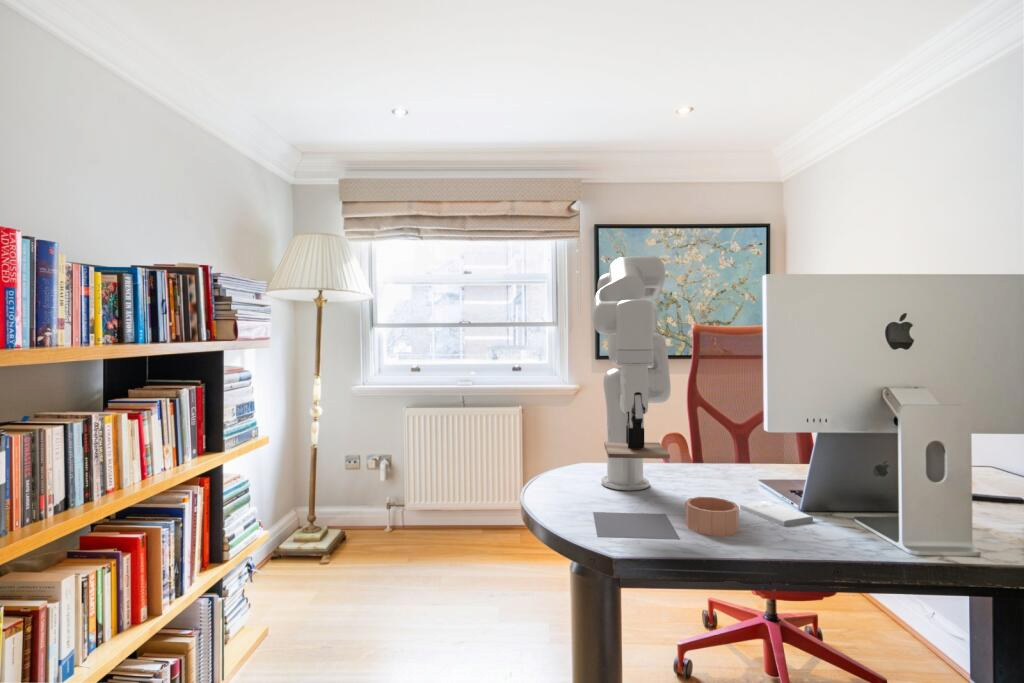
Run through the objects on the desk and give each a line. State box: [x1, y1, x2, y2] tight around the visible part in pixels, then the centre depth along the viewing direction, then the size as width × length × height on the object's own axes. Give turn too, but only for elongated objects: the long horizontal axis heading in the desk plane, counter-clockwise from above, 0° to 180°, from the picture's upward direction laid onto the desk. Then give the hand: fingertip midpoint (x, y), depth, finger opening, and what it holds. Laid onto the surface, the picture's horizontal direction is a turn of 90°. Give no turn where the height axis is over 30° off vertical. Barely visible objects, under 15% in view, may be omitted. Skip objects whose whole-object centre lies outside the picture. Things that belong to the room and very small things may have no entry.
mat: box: [592, 511, 681, 540], centre depth 111 cm, size 15×16×1 cm
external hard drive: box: [739, 500, 814, 527], centre depth 118 cm, size 2×8×12 cm
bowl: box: [685, 496, 740, 537], centre depth 110 cm, size 10×10×5 cm
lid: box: [603, 423, 671, 460], centre depth 111 cm, size 12×12×6 cm
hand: (635, 444), depth 111 cm, fingers closed on lid, 3 cm apart
